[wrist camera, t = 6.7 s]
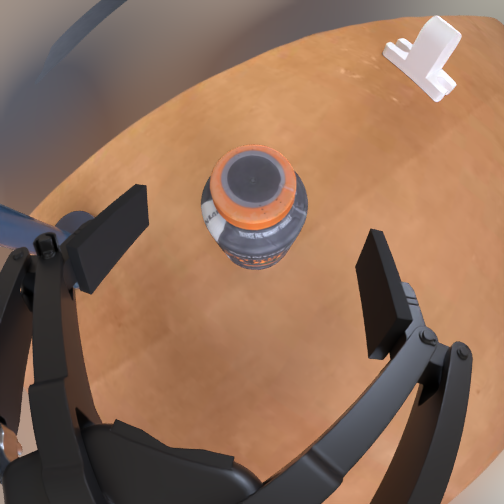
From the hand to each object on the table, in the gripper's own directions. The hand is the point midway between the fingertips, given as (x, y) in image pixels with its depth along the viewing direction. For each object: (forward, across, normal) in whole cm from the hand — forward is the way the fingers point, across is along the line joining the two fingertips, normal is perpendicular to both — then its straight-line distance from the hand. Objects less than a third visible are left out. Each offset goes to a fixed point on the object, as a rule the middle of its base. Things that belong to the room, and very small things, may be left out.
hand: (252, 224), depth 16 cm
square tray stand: (+3, +17, +8) cm, 19 cm away
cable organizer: (+26, -16, -14) cm, 33 cm away
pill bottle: (+6, 0, +5) cm, 8 cm away
